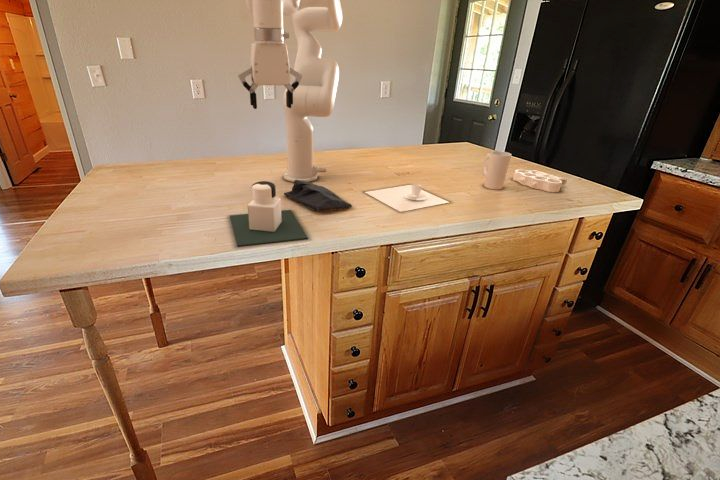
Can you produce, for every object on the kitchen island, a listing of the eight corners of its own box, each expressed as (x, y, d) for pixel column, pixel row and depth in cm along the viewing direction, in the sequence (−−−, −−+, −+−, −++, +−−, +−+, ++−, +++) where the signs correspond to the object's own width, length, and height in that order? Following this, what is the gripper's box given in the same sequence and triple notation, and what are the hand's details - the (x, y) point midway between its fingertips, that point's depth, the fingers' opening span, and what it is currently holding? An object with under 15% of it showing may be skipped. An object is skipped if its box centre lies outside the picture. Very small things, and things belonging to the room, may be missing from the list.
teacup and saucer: (411, 203, 125) (413, 191, 123) (396, 195, 131) (397, 184, 129) (432, 199, 129) (434, 187, 127) (416, 192, 135) (418, 180, 133)
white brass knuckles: (573, 188, 141) (546, 194, 135) (530, 175, 155) (504, 180, 149) (576, 179, 140) (549, 184, 134) (532, 167, 154) (506, 171, 148)
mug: (507, 188, 140) (516, 154, 134) (493, 190, 138) (502, 156, 132) (485, 180, 148) (493, 148, 142) (472, 182, 146) (479, 150, 140)
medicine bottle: (257, 219, 110) (254, 178, 105) (282, 222, 109) (280, 180, 103) (248, 230, 104) (245, 186, 98) (274, 232, 103) (272, 188, 97)
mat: (290, 211, 118) (290, 209, 118) (307, 238, 101) (307, 237, 101) (230, 216, 113) (229, 215, 113) (237, 246, 97) (237, 245, 96)
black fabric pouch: (312, 217, 114) (312, 201, 111) (281, 194, 130) (280, 180, 128) (356, 208, 120) (357, 193, 118) (321, 188, 137) (321, 174, 135)
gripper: (298, 37, 106) (298, 105, 115) (233, 36, 102) (239, 106, 111) (305, 37, 100) (305, 109, 109) (236, 36, 96) (242, 110, 104)
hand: (272, 107), depth 110 cm, fingers open, 9 cm apart
